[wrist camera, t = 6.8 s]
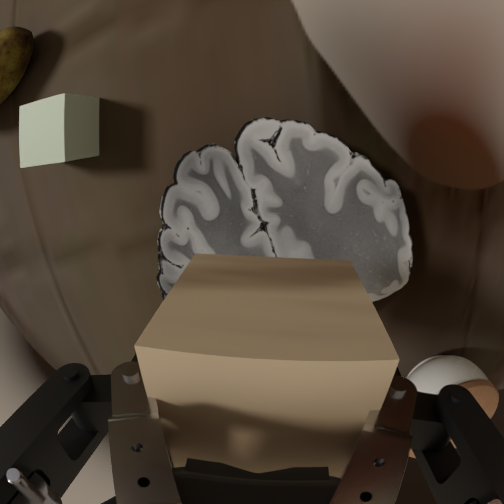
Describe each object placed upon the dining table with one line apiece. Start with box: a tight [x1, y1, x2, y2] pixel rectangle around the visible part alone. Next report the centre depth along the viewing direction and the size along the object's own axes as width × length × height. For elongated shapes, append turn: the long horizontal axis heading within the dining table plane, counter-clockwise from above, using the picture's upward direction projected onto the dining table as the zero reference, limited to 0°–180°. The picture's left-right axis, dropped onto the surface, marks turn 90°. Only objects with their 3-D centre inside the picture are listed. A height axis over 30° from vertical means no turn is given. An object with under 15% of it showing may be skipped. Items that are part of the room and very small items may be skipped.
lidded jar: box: [407, 355, 499, 458], centre depth 24 cm, size 11×11×9 cm
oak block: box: [135, 253, 399, 478], centre depth 10 cm, size 6×6×6 cm
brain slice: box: [157, 117, 413, 303], centre depth 23 cm, size 20×17×3 cm
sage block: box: [19, 93, 99, 168], centre depth 20 cm, size 5×5×5 cm
